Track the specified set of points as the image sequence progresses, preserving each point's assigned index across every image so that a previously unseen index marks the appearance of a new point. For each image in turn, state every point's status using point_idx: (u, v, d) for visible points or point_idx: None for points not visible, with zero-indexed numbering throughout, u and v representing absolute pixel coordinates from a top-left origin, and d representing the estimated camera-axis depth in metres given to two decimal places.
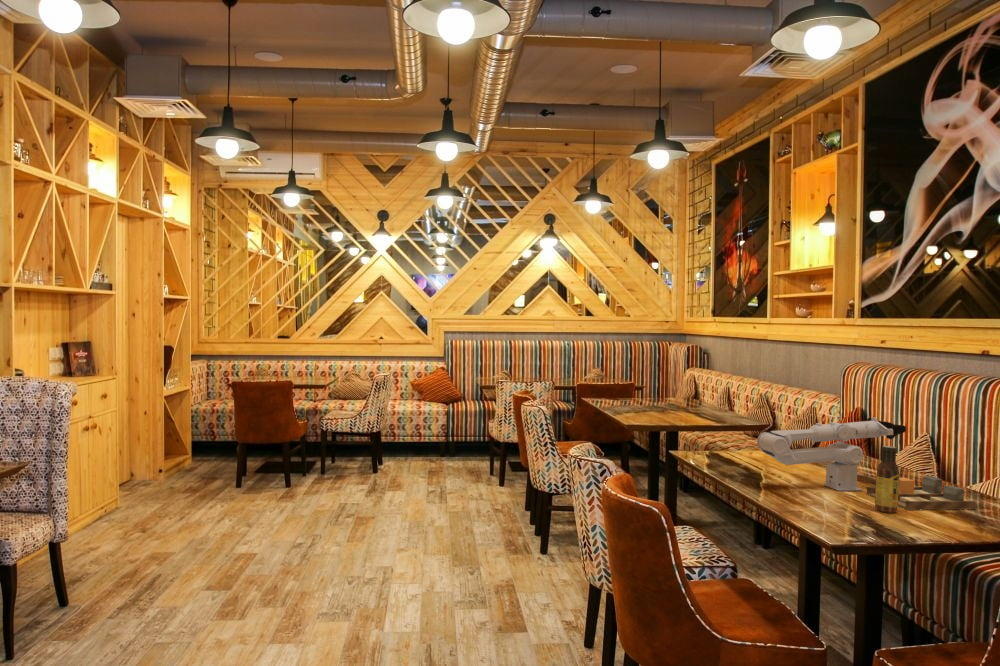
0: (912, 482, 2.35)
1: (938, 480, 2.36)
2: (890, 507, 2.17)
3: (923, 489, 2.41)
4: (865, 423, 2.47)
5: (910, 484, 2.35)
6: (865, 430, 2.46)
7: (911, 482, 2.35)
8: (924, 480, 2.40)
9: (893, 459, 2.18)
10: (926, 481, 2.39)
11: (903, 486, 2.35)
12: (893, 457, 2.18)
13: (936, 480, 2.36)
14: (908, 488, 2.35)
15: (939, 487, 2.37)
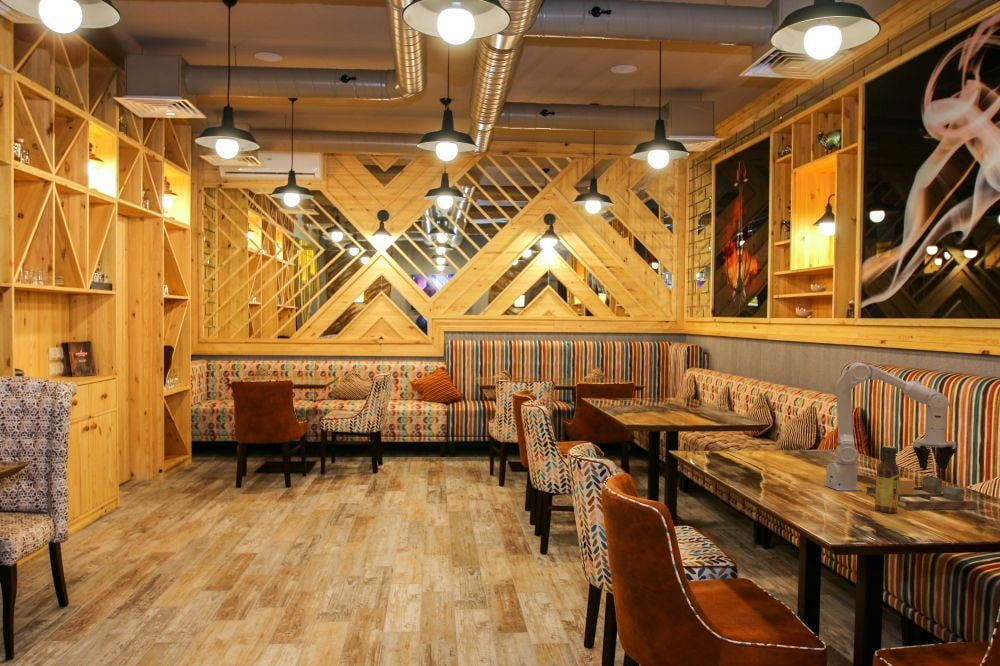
0: (912, 482, 2.35)
1: (938, 480, 2.36)
2: (890, 507, 2.17)
3: (923, 489, 2.41)
4: (937, 430, 2.36)
5: (910, 484, 2.35)
6: (938, 426, 2.36)
7: (911, 482, 2.35)
8: (924, 480, 2.40)
9: (893, 459, 2.18)
10: (926, 481, 2.39)
11: (903, 486, 2.35)
12: (893, 457, 2.18)
13: (936, 480, 2.36)
14: (908, 488, 2.35)
15: (939, 487, 2.37)
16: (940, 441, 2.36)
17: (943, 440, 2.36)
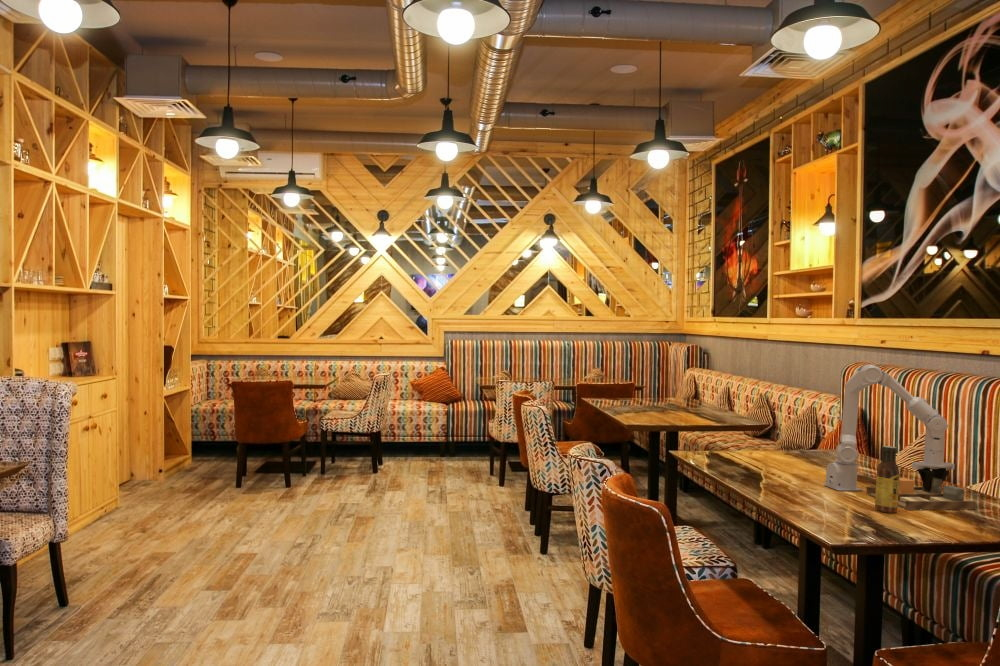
0: (912, 482, 2.35)
1: (938, 480, 2.36)
2: (890, 507, 2.17)
3: (923, 489, 2.41)
4: (936, 452, 2.36)
5: (910, 484, 2.35)
6: (937, 449, 2.36)
7: (911, 482, 2.35)
8: None
9: (893, 459, 2.18)
10: None
11: (903, 486, 2.35)
12: (893, 457, 2.18)
13: (936, 480, 2.36)
14: (908, 488, 2.35)
15: (939, 487, 2.37)
16: (939, 463, 2.36)
17: (942, 462, 2.36)
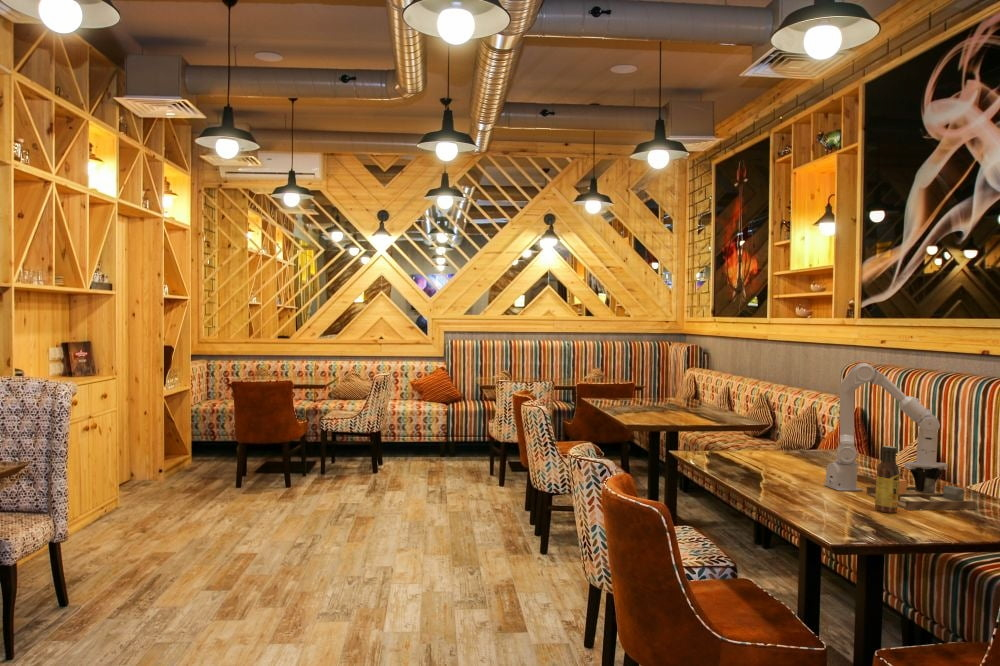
0: (905, 482, 2.35)
1: (931, 480, 2.36)
2: (890, 507, 2.17)
3: (916, 489, 2.40)
4: (928, 452, 2.36)
5: (902, 484, 2.34)
6: (929, 448, 2.35)
7: (904, 482, 2.35)
8: None
9: (893, 459, 2.18)
10: None
11: None
12: (893, 457, 2.18)
13: (929, 480, 2.36)
14: (901, 488, 2.34)
15: (932, 487, 2.36)
16: (931, 463, 2.35)
17: (934, 462, 2.36)
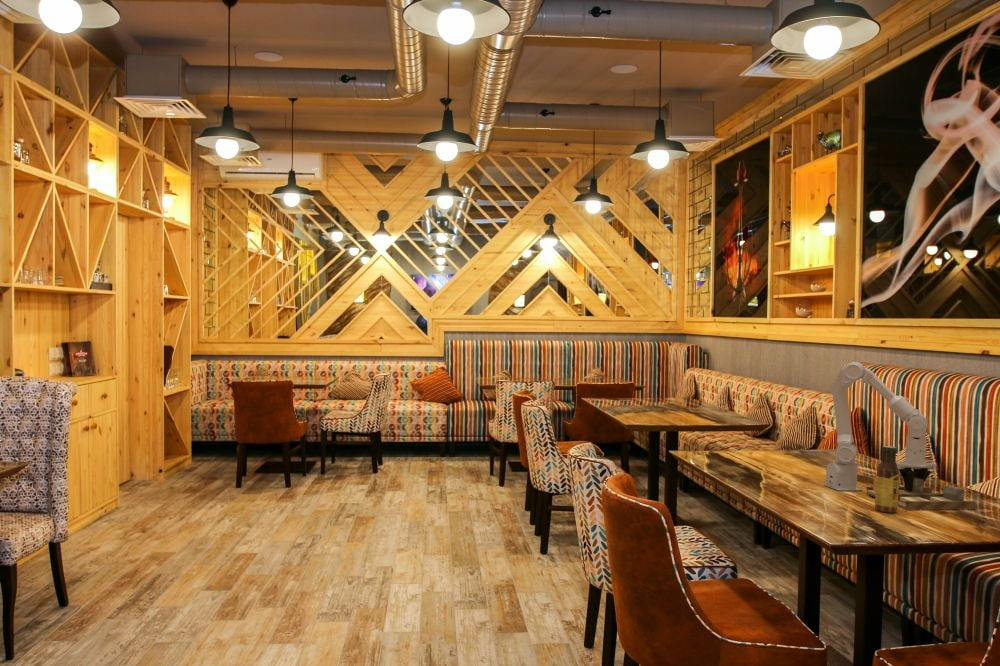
0: None
1: (919, 480, 2.35)
2: (890, 507, 2.17)
3: (905, 489, 2.39)
4: (917, 452, 2.35)
5: None
6: (916, 448, 2.35)
7: None
8: None
9: (893, 459, 2.18)
10: None
11: None
12: (893, 457, 2.18)
13: (917, 480, 2.35)
14: None
15: (921, 487, 2.35)
16: (920, 463, 2.35)
17: (923, 462, 2.35)
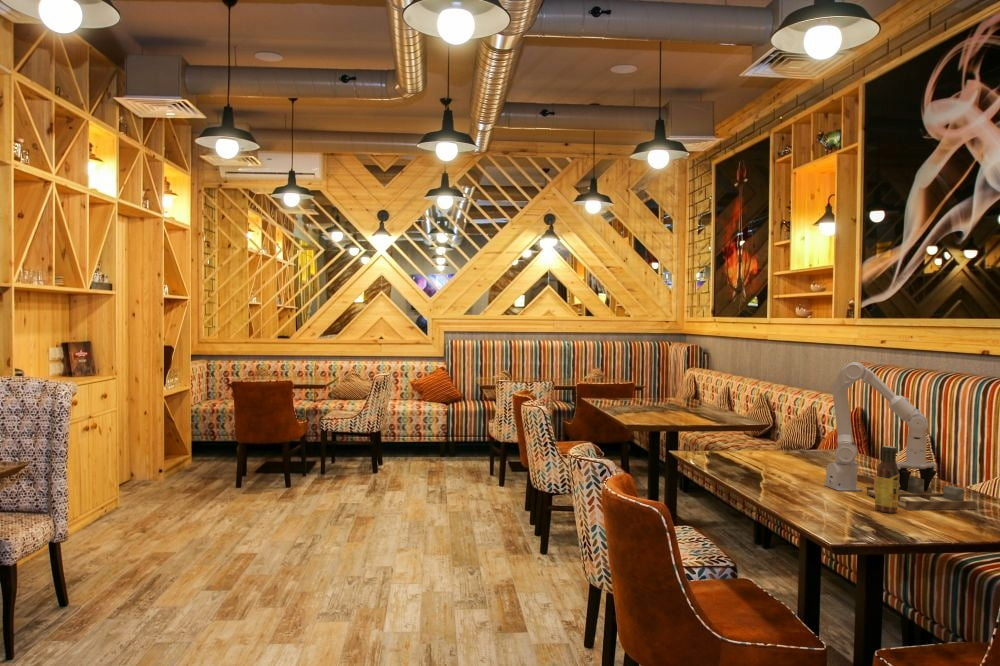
0: None
1: (920, 480, 2.35)
2: (890, 507, 2.17)
3: None
4: (917, 451, 2.35)
5: None
6: (917, 448, 2.35)
7: None
8: None
9: (893, 459, 2.18)
10: (908, 481, 2.38)
11: None
12: (893, 457, 2.18)
13: (918, 480, 2.35)
14: None
15: (921, 487, 2.35)
16: (921, 463, 2.35)
17: (924, 462, 2.35)
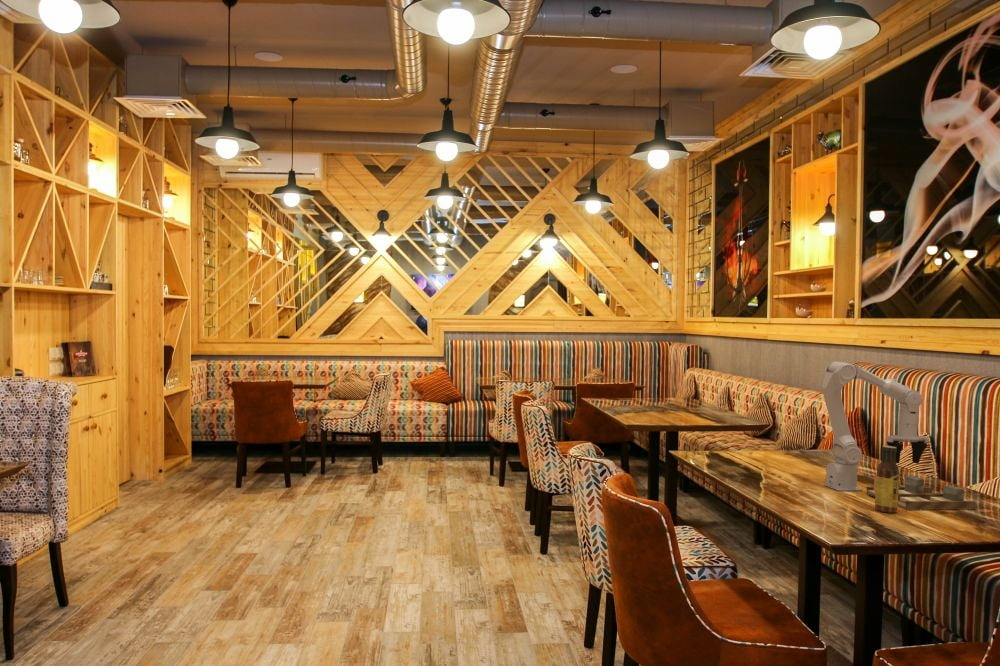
0: None
1: (920, 480, 2.35)
2: (890, 507, 2.17)
3: (905, 489, 2.40)
4: (909, 425, 2.45)
5: None
6: (913, 422, 2.44)
7: None
8: (906, 480, 2.39)
9: (893, 459, 2.18)
10: (908, 481, 2.38)
11: None
12: (893, 457, 2.18)
13: (918, 480, 2.35)
14: None
15: (921, 487, 2.35)
16: (912, 436, 2.45)
17: (915, 435, 2.45)
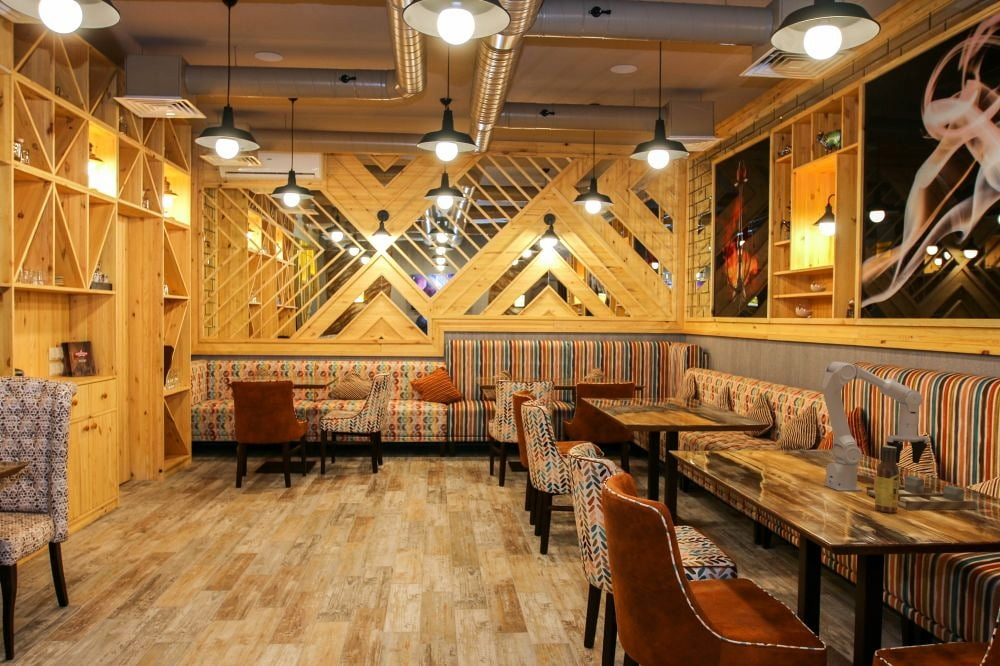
0: None
1: (920, 480, 2.35)
2: (890, 507, 2.17)
3: (905, 489, 2.40)
4: (909, 425, 2.45)
5: None
6: (913, 422, 2.44)
7: None
8: (906, 480, 2.39)
9: (893, 459, 2.18)
10: (908, 481, 2.38)
11: None
12: (893, 457, 2.18)
13: (918, 480, 2.35)
14: None
15: (921, 487, 2.35)
16: (912, 436, 2.45)
17: (915, 435, 2.45)
